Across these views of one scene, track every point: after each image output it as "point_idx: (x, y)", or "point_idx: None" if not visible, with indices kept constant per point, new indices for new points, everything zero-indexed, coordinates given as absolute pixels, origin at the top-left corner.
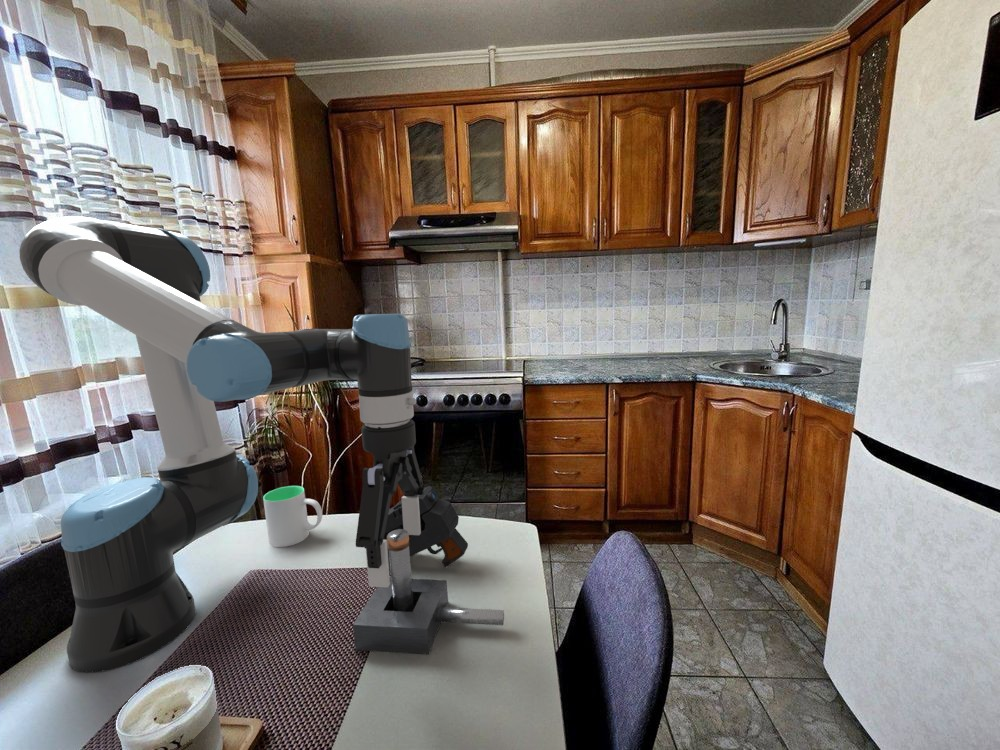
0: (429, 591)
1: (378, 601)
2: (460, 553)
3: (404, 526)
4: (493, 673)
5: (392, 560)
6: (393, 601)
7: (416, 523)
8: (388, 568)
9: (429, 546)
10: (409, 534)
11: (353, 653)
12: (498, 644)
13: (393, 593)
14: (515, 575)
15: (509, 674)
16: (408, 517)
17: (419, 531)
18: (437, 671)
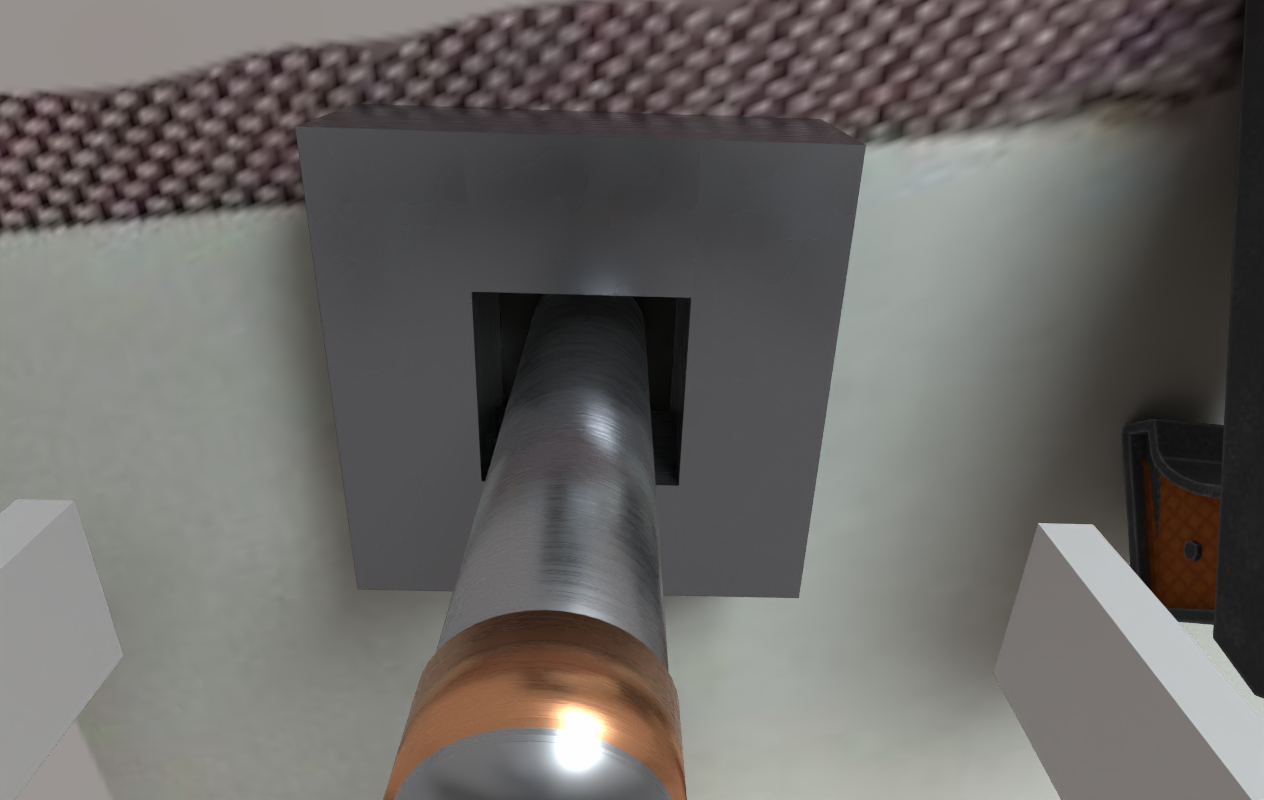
0: (682, 527)
1: (564, 220)
2: (1158, 577)
3: (1089, 605)
4: (352, 737)
5: (454, 590)
6: (535, 353)
7: (1065, 773)
8: (7, 796)
9: (1229, 428)
10: (1024, 583)
11: (330, 102)
12: None
13: (519, 391)
14: (968, 767)
15: (359, 781)
16: (1141, 768)
17: (1018, 704)
18: (314, 554)
